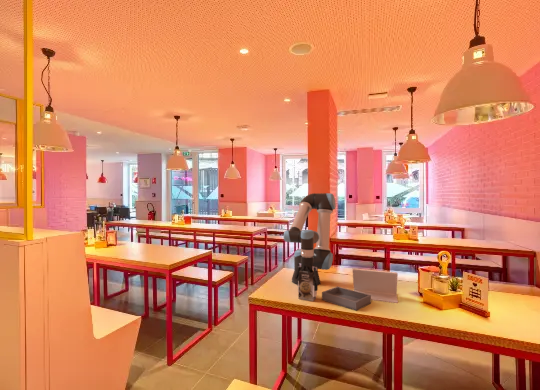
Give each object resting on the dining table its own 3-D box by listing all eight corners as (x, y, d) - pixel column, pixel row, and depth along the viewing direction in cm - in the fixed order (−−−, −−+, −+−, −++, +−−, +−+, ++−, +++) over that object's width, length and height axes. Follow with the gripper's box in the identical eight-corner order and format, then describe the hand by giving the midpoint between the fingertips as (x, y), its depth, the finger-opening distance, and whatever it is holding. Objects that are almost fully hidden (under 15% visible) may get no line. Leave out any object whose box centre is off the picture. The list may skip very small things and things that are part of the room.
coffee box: (298, 299, 163) (298, 271, 163) (302, 295, 169) (302, 269, 169) (312, 301, 159) (312, 273, 159) (316, 298, 165) (316, 270, 165)
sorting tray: (322, 299, 162) (322, 292, 162) (337, 293, 173) (337, 286, 173) (356, 310, 146) (356, 302, 146) (370, 303, 157) (370, 295, 157)
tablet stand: (398, 303, 157) (397, 273, 157) (352, 298, 166) (352, 269, 166) (396, 293, 174) (395, 266, 174) (354, 289, 183) (354, 263, 183)
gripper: (288, 254, 170) (288, 290, 170) (319, 260, 153) (319, 300, 153) (296, 252, 175) (296, 287, 175) (327, 258, 158) (327, 297, 158)
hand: (307, 293), depth 164 cm, fingers closed on coffee box, 10 cm apart
